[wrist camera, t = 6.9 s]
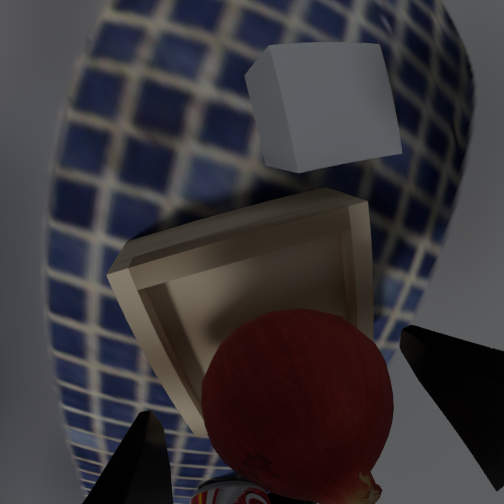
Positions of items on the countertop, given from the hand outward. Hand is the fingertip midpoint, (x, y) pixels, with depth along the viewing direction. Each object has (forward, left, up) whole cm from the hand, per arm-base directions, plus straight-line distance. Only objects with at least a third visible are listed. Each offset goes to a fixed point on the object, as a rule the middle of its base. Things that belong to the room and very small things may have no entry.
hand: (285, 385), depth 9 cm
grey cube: (+8, -4, -6) cm, 11 cm away
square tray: (0, 0, -6) cm, 6 cm away
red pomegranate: (0, 0, -3) cm, 3 cm away
